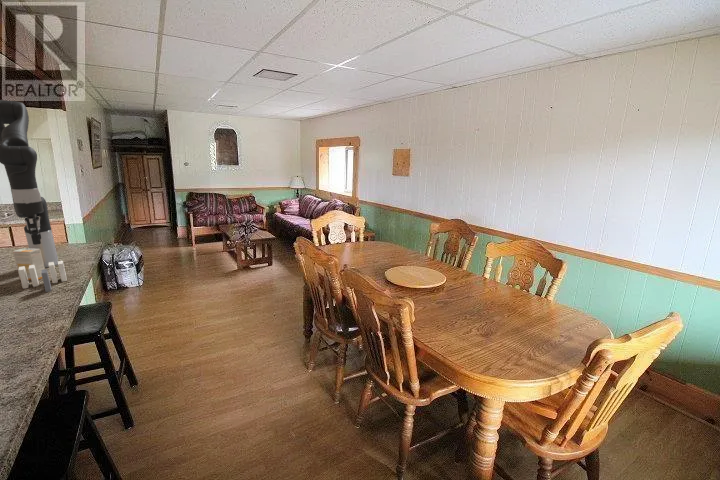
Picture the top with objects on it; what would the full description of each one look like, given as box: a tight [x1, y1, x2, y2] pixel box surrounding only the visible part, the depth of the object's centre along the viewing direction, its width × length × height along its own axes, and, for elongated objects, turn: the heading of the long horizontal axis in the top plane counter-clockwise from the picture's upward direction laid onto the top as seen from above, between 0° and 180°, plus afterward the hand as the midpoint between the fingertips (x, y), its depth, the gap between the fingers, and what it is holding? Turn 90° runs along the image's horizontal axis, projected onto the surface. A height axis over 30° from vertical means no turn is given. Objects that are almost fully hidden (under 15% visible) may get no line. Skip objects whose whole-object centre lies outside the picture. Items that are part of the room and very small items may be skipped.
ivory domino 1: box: [17, 266, 30, 289], centre depth 138 cm, size 5×2×8 cm, turn 42°
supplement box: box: [12, 247, 46, 281], centre depth 146 cm, size 8×5×13 cm, turn 84°
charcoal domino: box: [41, 268, 52, 293], centre depth 135 cm, size 5×2×8 cm, turn 42°
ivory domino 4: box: [57, 260, 68, 283], centre depth 146 cm, size 5×2×8 cm, turn 42°
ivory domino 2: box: [29, 265, 40, 288], centre depth 140 cm, size 5×2×8 cm, turn 42°
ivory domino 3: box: [48, 262, 59, 284], centre depth 144 cm, size 5×2×8 cm, turn 42°
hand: (37, 241), depth 131 cm, fingers open, 8 cm apart
